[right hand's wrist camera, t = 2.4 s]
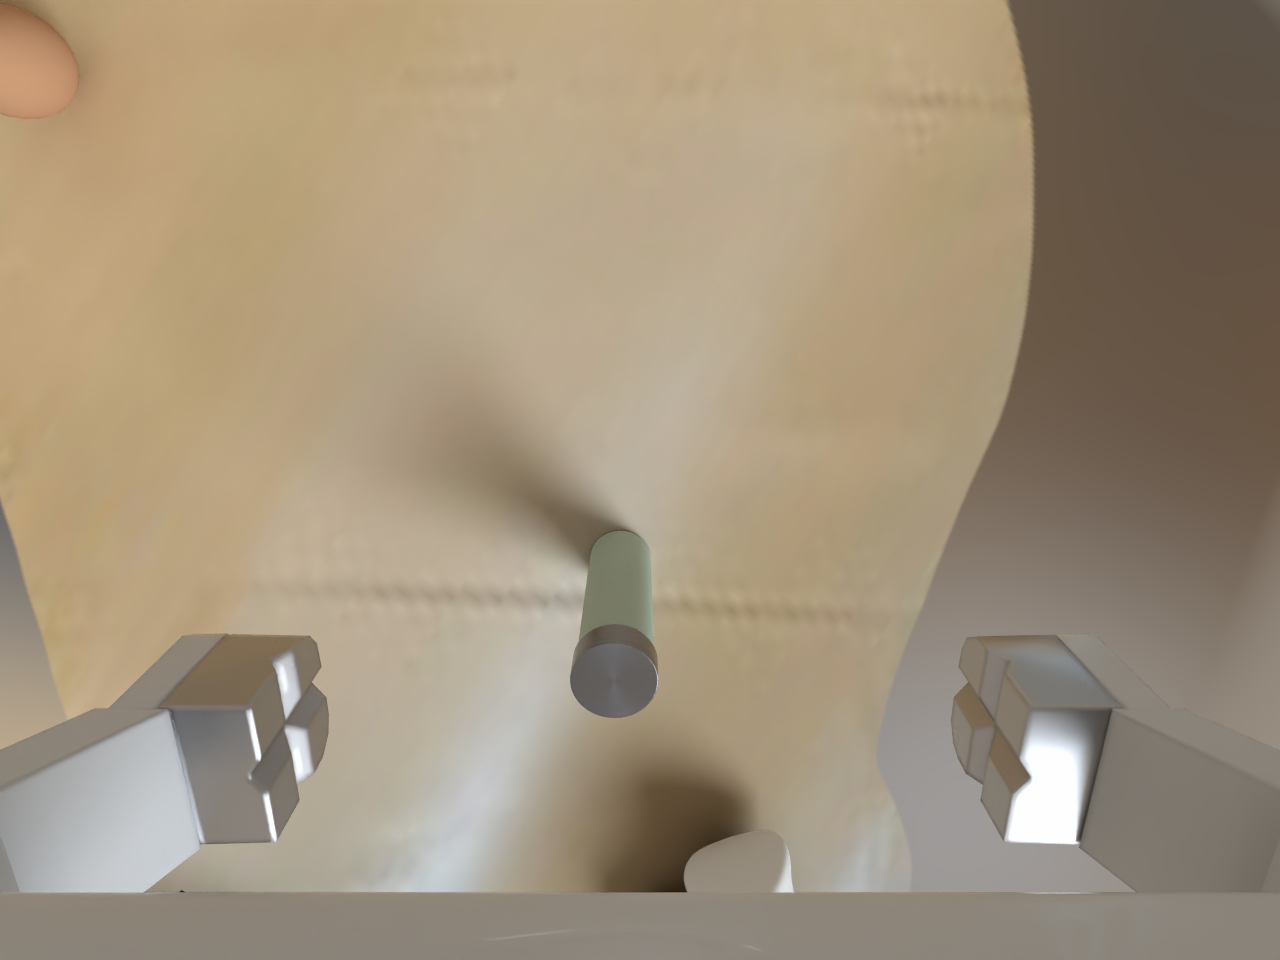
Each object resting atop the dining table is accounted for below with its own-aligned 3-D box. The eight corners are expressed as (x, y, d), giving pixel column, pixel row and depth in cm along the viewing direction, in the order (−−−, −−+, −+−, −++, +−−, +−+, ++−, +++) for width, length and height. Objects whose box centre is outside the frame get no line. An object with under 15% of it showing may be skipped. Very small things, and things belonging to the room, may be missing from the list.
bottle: (585, 534, 62) (568, 647, 47) (646, 526, 62) (648, 637, 47) (595, 588, 64) (581, 714, 49) (654, 581, 63) (659, 705, 48)
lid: (566, 628, 49) (563, 648, 46) (651, 618, 48) (652, 638, 46) (580, 700, 50) (577, 722, 48) (662, 691, 50) (663, 712, 48)
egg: (106, 32, 50) (13, 7, 43) (102, 134, 52) (12, 126, 45) (5, 3, 50) (-107, -29, 42) (5, 107, 52) (-102, 95, 44)
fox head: (565, 914, 65) (637, 1093, 71) (762, 934, 58) (825, 1132, 63) (628, 798, 77) (686, 960, 82) (799, 802, 70) (850, 979, 75)
